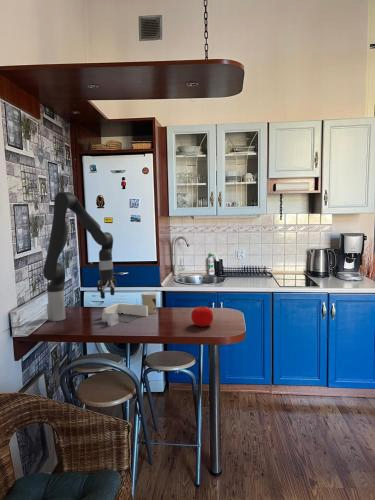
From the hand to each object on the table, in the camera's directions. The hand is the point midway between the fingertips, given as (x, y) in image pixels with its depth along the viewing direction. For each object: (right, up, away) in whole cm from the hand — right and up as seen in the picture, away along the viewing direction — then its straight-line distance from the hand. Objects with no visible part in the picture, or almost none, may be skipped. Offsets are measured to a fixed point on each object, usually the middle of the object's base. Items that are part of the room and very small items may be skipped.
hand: (107, 296), depth 210 cm
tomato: (+53, -14, -9) cm, 56 cm away
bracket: (0, -15, -1) cm, 15 cm away
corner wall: (+9, -13, +11) cm, 19 cm away
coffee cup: (+22, -12, +20) cm, 32 cm away
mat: (+10, -14, +7) cm, 18 cm away
